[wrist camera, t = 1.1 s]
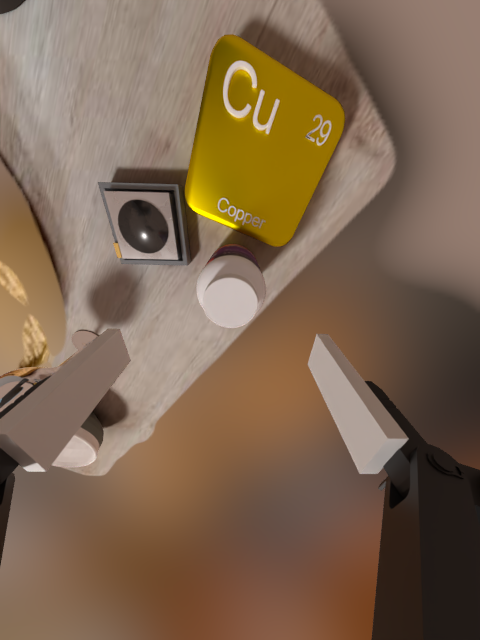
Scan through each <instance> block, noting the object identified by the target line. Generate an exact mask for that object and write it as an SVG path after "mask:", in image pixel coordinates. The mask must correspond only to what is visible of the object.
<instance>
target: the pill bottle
mask: <svg viewBox="0 0 480 640" xmlns="http://www.w3.org/2000/svg"><path fill="white" fill-rule="evenodd" d="M265 294H266V285H265V280H264V277H263V275H262V273H261V270H260V268H259V266H258V263H257V261H256V258H255V257H254V255H253V254H252V253H251V251H250V250H248V249H247V248H245V247H244V246H241V245H237V244H228V245H225V246H222V247H220V248H219V249H218V250H216V251H215V252H214V254H213V255H212V257H211V258H210V260H209V261H208V263H207V264H206V265H205V267H204V268H203V270H202V271H201V273H200V275H199V277H198V281H197V296H198V300H199V302H200V304H201V306H202V307H203V309H204V311H205V313H206V315H207V317H208V318H209V319H210V320H211V321H212V322H214V323H215V324H217V325H219V326H222V327H226V328H236V327H240V326H243V325H245V324H247V323H248V322H249V321H250V320H251V319H252V318H253V317H254V315H255V314H256V312H257V311H258V310H259V309H260V307H261V306H262V304H263V302H264V299H265Z"/></svg>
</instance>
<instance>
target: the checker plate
mask: <svg viewBox="0 0 480 640" xmlns="http://www.w3.org/2000/svg"><path fill="white" fill-rule="evenodd" d="M104 195H105V198H106V202H107V205H108V209H109V212H110V216H111V219H112V223H113V226H114V230H115V233H116V237H117V240H118V244H119V247H120V251H121V254H122V258H124V259H170V260H178V259H180V258H181V257H182V254H181V247H180V239H179V231H178V223H177V216H176V208H175V200H174V195H173V194H170V193H157V192H121V191H104Z"/></svg>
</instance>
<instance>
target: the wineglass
mask: <svg viewBox="0 0 480 640" xmlns="http://www.w3.org/2000/svg"><path fill="white" fill-rule="evenodd" d="M97 337H98V335H96V334H94V333H92V332H89V331H78V332H76V333H74V334H73V336H72V342H73V344H74V346H75V347H76V348H77V349H78V351H77V352H75V353H74V354H73V355H72V356H70V357H69V358H68V359H67V360H65V361H64V362H63V363H62V364H60V365H59V366H57V367H51V368H48V367H27V368H20V369H16V370H13V371H10V372H8V373H5V374H3V375H2V376H0V412H1V411H3V410H4V409H5V408H6V407H7V406H9V405H10V404H11V403H14V401H15V400H16V399H17V398H19V397H20V396H21V395H24V393H25V392H26V391H27V390H28V389H30V388H31V387H32V386H33V385H35V384H36V383H38V382H39V381H41V380H43V379H45V378H46V377H48V376H52V375H53V374H54V373H56V372H57V371H58V370H59V369H60V368H62V367H63V366H64V365H65V364H66V363H68V362H69V361H70V360H71V359H72V358H73V357H75V356H76V355H77V354H78V353H79V352H81V351H82V350H83V349H84V348H85V347H87V346H88V345H89V344H90V343H91V342H93V341H94V340H95V339H96V338H97Z"/></svg>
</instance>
